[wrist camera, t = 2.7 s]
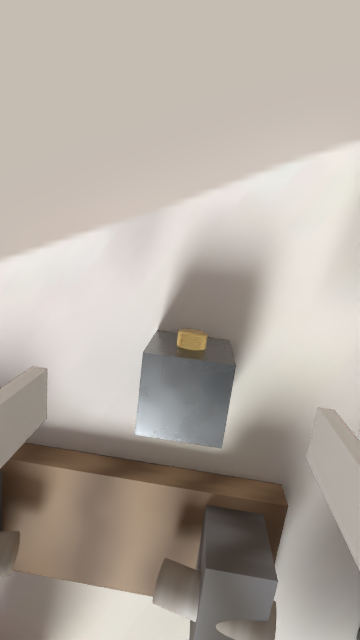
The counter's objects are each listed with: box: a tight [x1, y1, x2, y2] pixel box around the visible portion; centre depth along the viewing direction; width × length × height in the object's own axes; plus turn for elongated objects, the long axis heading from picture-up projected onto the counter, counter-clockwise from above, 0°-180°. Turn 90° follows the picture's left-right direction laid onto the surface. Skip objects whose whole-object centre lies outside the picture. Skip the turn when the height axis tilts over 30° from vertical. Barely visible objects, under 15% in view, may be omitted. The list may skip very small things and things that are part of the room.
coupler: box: [135, 329, 236, 448], centre depth 20 cm, size 7×5×5 cm
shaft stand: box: [0, 443, 288, 640], centre depth 21 cm, size 26×10×7 cm, turn 83°
